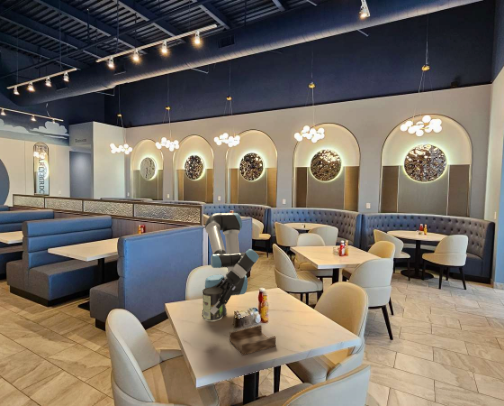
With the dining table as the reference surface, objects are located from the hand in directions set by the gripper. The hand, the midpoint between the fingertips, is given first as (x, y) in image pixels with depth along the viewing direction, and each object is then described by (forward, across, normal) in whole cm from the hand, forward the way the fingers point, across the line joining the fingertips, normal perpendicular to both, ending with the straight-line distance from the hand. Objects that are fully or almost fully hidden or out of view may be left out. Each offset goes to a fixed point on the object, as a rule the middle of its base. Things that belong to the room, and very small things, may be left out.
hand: (208, 308), depth 151 cm
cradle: (-2, -14, -24) cm, 28 cm away
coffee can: (+2, 0, -5) cm, 6 cm away
